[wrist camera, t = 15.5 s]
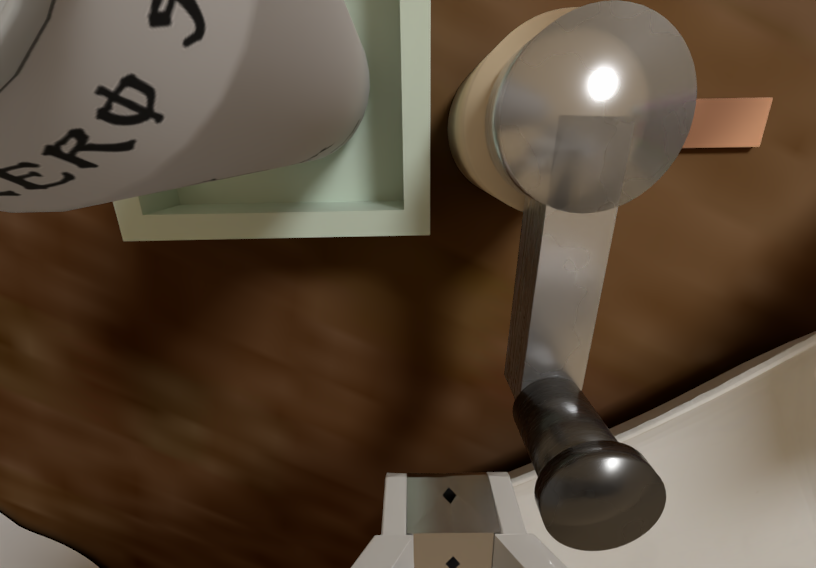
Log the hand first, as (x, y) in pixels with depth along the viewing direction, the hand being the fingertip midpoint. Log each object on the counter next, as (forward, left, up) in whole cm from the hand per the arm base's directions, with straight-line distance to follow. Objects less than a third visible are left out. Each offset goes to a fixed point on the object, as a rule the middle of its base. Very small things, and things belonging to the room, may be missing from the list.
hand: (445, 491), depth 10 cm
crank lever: (+4, +5, -5) cm, 8 cm away
